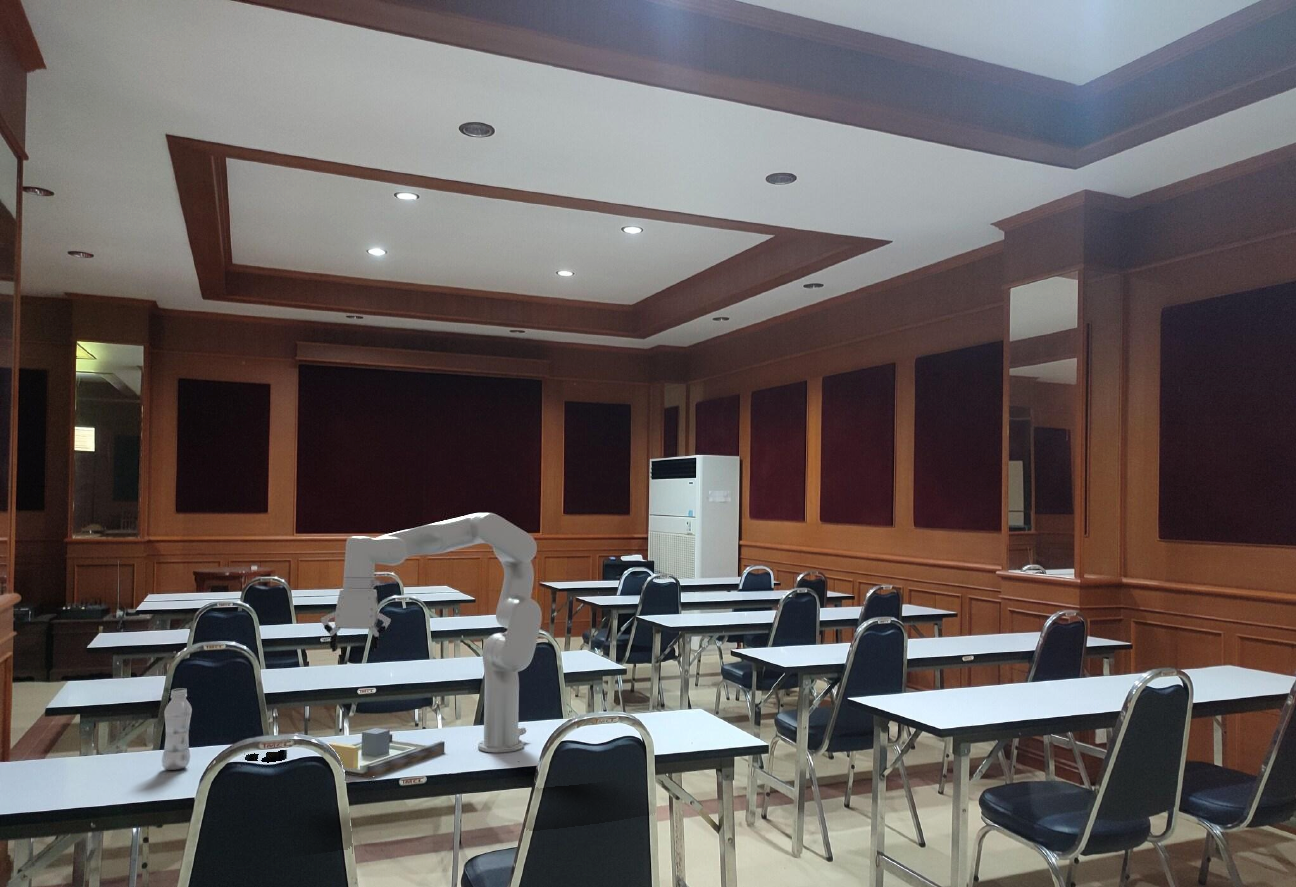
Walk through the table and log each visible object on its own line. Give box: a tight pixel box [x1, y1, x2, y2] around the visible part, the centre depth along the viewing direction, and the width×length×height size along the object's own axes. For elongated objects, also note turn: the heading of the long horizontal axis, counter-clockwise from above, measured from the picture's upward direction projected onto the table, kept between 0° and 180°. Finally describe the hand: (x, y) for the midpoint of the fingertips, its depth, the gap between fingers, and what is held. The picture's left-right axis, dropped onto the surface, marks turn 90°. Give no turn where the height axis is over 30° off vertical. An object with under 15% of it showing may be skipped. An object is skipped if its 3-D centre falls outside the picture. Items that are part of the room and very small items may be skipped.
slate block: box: [361, 727, 391, 757], centre depth 241 cm, size 5×5×6 cm
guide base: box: [344, 733, 446, 779], centre depth 243 cm, size 28×20×3 cm
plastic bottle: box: [161, 687, 193, 771], centre depth 234 cm, size 6×7×20 cm
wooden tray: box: [327, 741, 417, 773], centre depth 239 cm, size 20×16×6 cm
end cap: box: [245, 749, 288, 763], centre depth 233 cm, size 10×7×7 cm
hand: (353, 651), depth 234 cm, fingers open, 9 cm apart
